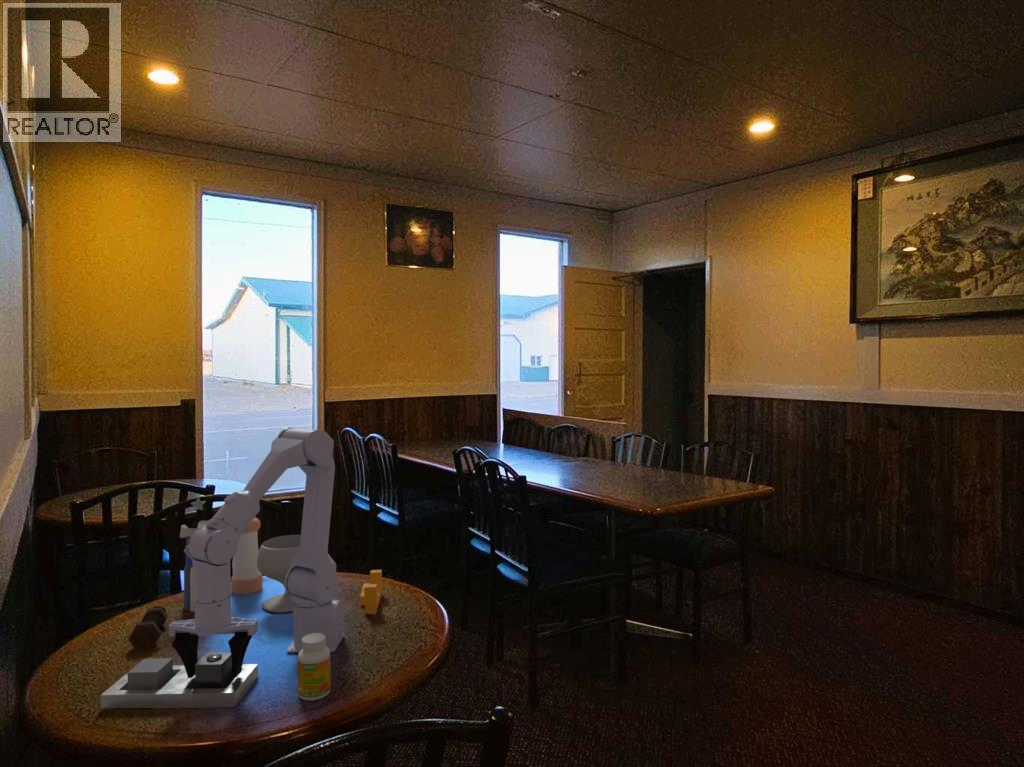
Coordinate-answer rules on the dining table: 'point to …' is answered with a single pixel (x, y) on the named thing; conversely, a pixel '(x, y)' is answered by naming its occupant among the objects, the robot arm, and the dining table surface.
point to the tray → (180, 692)
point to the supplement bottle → (314, 668)
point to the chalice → (278, 567)
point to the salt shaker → (247, 562)
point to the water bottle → (190, 561)
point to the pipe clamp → (372, 592)
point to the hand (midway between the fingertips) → (214, 674)
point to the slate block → (150, 674)
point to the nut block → (214, 671)
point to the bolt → (148, 628)
